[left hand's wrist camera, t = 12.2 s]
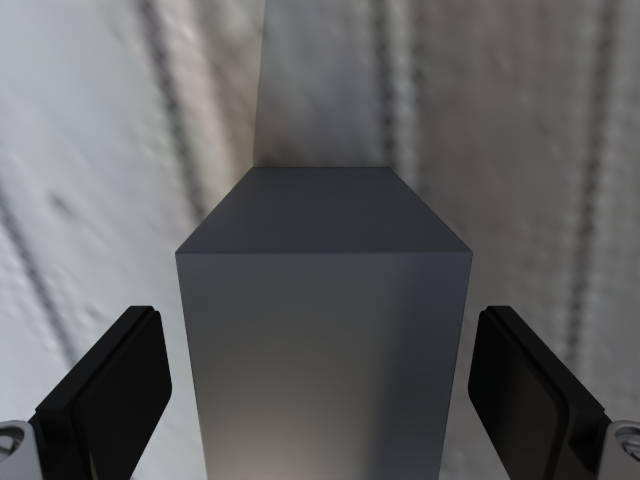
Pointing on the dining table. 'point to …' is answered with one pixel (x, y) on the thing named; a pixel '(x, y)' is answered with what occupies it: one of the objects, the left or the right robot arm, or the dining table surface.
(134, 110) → the dining table surface
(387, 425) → the beam
